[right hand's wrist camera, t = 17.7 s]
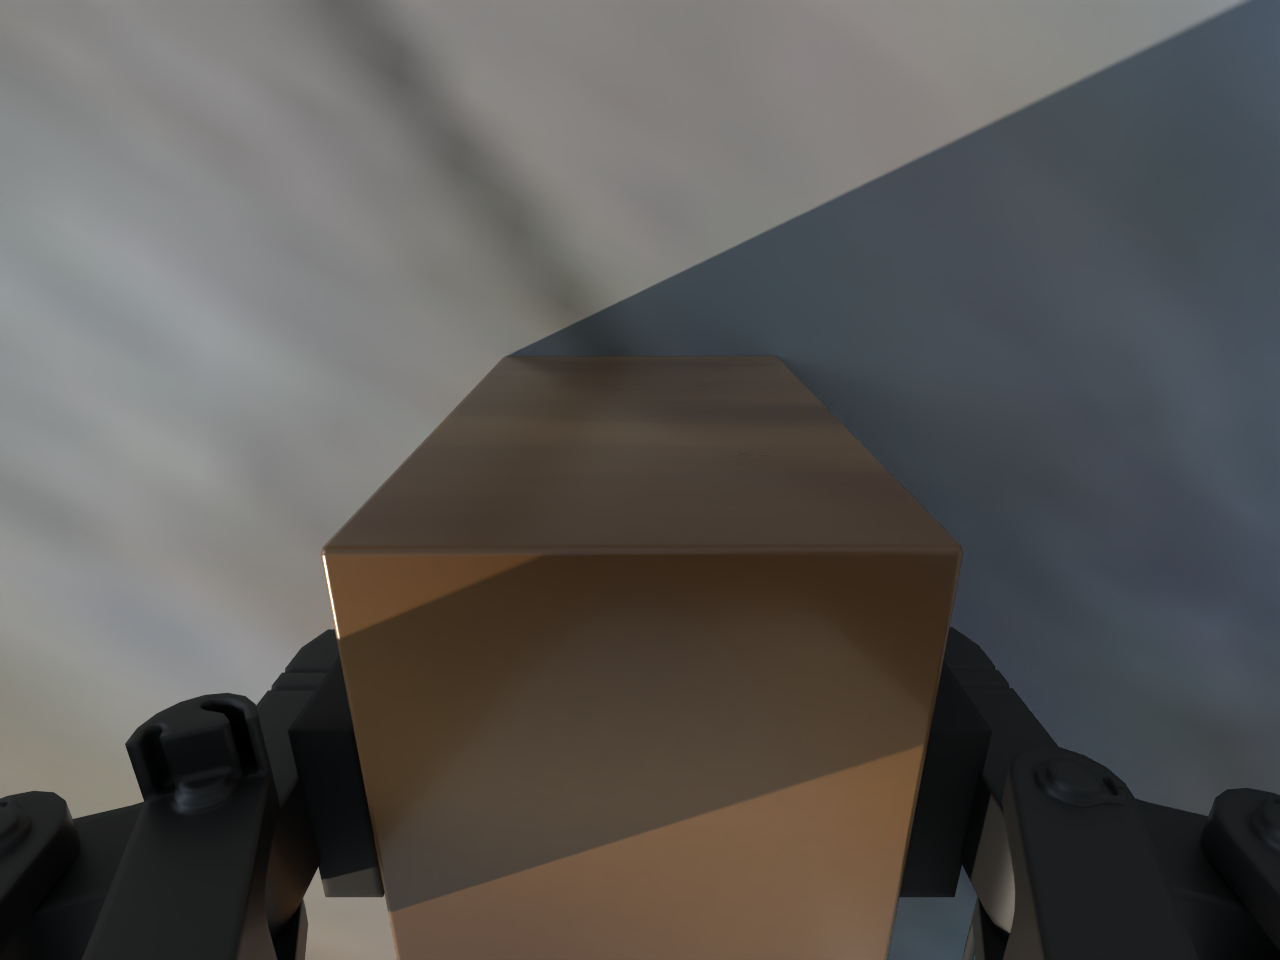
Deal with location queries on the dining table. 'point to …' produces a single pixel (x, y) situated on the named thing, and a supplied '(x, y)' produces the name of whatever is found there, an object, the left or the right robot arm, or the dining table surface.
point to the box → (642, 668)
